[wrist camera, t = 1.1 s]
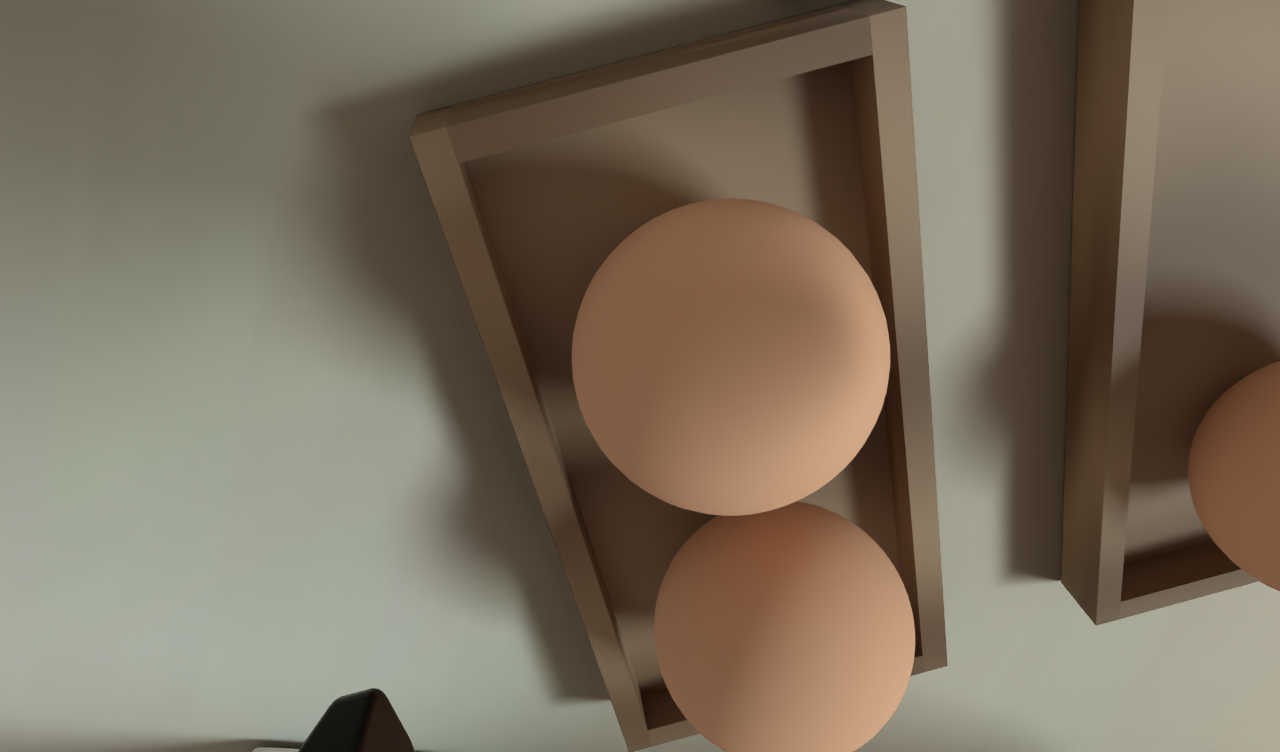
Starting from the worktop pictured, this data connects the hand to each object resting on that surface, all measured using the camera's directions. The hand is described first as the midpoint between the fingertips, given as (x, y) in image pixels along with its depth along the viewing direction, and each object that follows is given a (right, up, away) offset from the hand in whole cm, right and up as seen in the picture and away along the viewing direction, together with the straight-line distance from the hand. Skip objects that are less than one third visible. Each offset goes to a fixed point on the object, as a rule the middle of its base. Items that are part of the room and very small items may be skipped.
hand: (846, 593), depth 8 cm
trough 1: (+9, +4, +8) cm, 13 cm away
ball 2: (0, -2, +7) cm, 7 cm away
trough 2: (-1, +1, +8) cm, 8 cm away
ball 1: (-1, +2, +4) cm, 5 cm away
